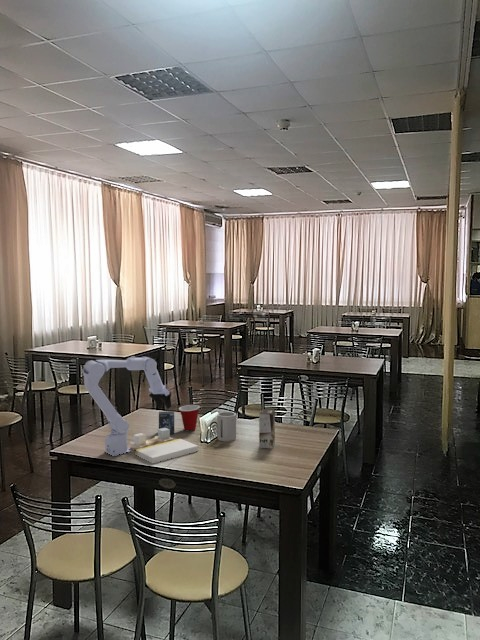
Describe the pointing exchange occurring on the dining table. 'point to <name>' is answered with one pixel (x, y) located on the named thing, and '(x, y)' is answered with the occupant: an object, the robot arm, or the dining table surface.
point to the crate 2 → (163, 433)
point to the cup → (226, 426)
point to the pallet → (150, 442)
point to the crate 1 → (139, 439)
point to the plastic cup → (189, 416)
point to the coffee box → (266, 428)
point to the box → (167, 420)
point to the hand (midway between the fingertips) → (164, 406)
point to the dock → (166, 450)
